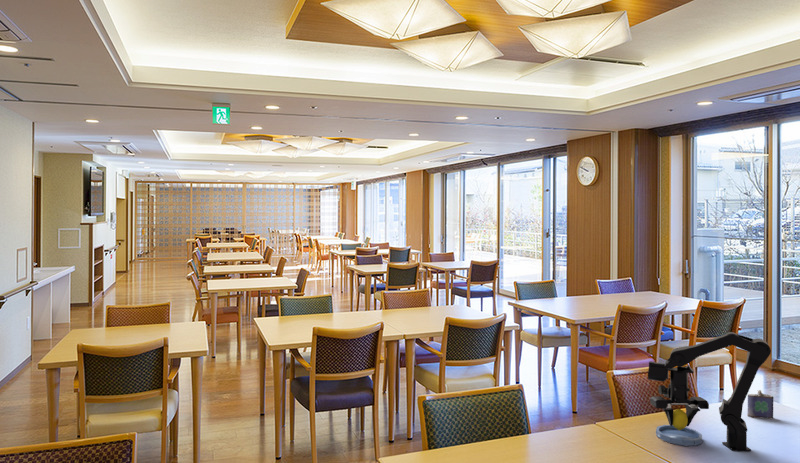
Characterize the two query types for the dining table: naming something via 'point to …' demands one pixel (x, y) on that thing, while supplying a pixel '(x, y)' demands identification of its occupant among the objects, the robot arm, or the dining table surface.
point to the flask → (760, 405)
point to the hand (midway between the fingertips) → (679, 425)
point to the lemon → (679, 419)
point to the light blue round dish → (679, 435)
